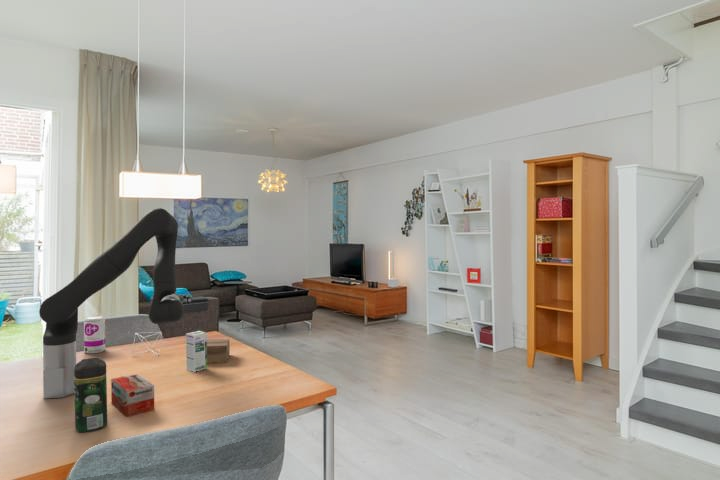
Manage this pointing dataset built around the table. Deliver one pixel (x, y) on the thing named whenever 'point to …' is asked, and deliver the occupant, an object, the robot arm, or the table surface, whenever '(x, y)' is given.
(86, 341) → the supplement can
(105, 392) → the coffee jar
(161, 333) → the geometric polyhedron
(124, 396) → the medicine box
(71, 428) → the table surface
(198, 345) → the syrup box
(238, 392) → the table surface
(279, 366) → the table surface
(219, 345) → the walnut block
